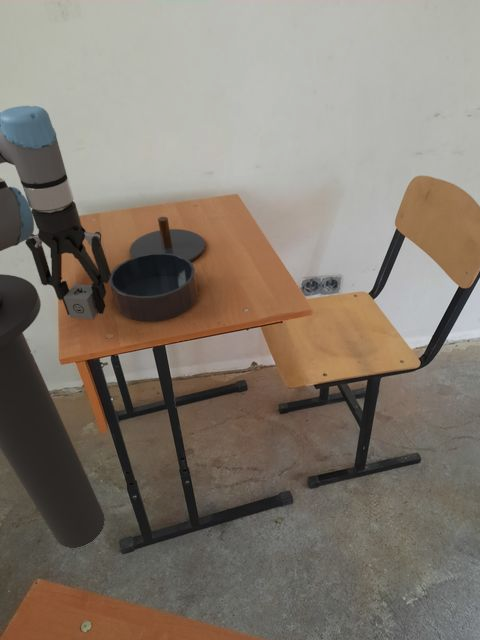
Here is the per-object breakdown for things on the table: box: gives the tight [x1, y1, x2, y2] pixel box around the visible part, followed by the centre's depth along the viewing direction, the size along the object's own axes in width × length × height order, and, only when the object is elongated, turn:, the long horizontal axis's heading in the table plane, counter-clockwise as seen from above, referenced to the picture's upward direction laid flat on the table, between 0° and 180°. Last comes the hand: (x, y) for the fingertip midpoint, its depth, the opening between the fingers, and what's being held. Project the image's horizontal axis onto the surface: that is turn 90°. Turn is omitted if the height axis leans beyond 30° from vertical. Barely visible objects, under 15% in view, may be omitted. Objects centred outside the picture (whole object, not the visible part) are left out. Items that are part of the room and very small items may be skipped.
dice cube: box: [64, 283, 99, 321], centre depth 98 cm, size 5×5×5 cm
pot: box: [108, 253, 199, 323], centre depth 111 cm, size 19×19×6 cm
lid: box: [129, 216, 206, 262], centre depth 127 cm, size 20×20×9 cm
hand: (86, 310), depth 99 cm, fingers closed on dice cube, 6 cm apart
